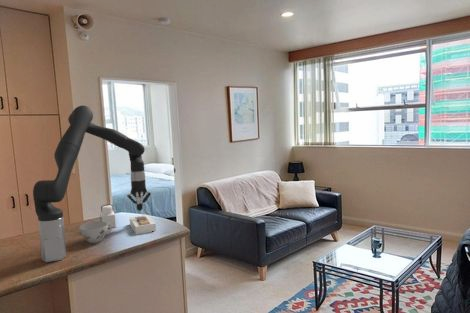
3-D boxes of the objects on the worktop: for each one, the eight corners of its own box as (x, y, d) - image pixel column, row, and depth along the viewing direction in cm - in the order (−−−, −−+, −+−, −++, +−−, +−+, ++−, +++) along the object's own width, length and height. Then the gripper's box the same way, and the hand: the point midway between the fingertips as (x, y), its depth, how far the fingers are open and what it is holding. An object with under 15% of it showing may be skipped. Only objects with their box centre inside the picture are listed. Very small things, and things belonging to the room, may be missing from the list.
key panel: (155, 231, 172) (155, 223, 171) (136, 234, 167) (135, 226, 167) (148, 221, 189) (147, 214, 188) (129, 224, 184) (129, 217, 184)
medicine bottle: (101, 225, 183) (99, 204, 182) (114, 223, 186) (113, 202, 185) (101, 229, 177) (100, 207, 175) (115, 227, 180) (114, 205, 178)
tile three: (145, 222, 182) (144, 217, 182) (136, 223, 180) (136, 219, 180) (143, 220, 186) (143, 215, 186) (135, 221, 184) (135, 217, 184)
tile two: (147, 223, 177) (146, 218, 176) (138, 224, 175) (138, 219, 174) (145, 221, 181) (145, 216, 180) (137, 222, 179) (136, 217, 178)
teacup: (86, 248, 151) (84, 231, 150) (76, 241, 160) (75, 225, 159) (118, 239, 161) (117, 223, 160) (107, 233, 170) (106, 218, 169)
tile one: (149, 226, 171) (149, 221, 171) (141, 227, 169) (140, 222, 169) (147, 223, 175) (147, 219, 175) (139, 225, 173) (139, 220, 173)
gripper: (126, 181, 174) (128, 213, 176) (151, 179, 180) (153, 210, 181) (124, 179, 181) (126, 210, 182) (148, 177, 187) (150, 207, 188)
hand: (139, 210), depth 182 cm, fingers closed
